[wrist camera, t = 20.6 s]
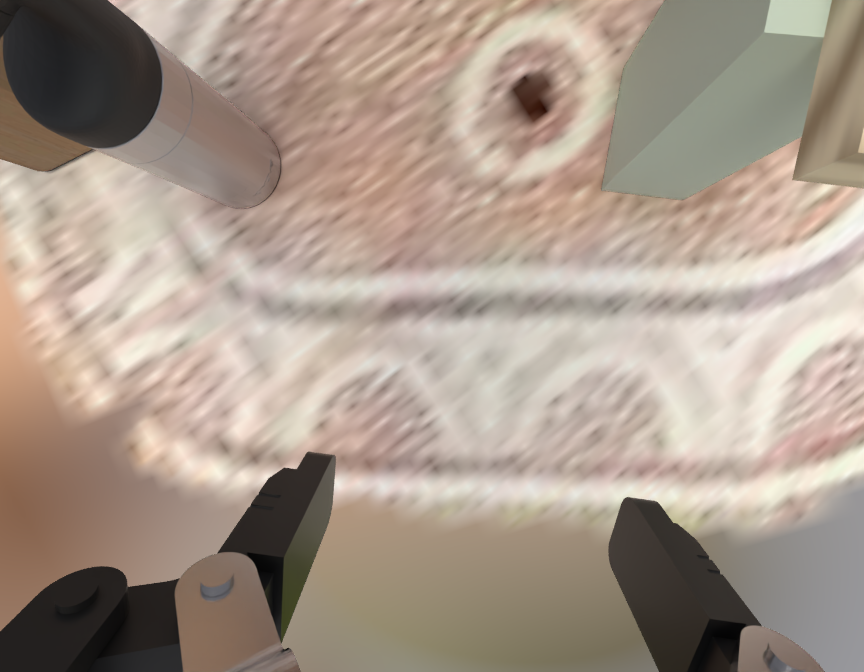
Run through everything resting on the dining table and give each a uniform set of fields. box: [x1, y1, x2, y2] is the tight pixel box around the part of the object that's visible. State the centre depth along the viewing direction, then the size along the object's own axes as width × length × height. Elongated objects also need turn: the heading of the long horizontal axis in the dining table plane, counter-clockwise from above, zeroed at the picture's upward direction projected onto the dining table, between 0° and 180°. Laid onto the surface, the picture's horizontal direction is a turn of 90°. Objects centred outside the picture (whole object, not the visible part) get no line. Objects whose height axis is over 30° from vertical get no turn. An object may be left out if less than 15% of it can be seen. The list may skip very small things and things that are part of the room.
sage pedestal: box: [601, 0, 832, 200], centre depth 29 cm, size 12×8×24 cm, turn 172°
